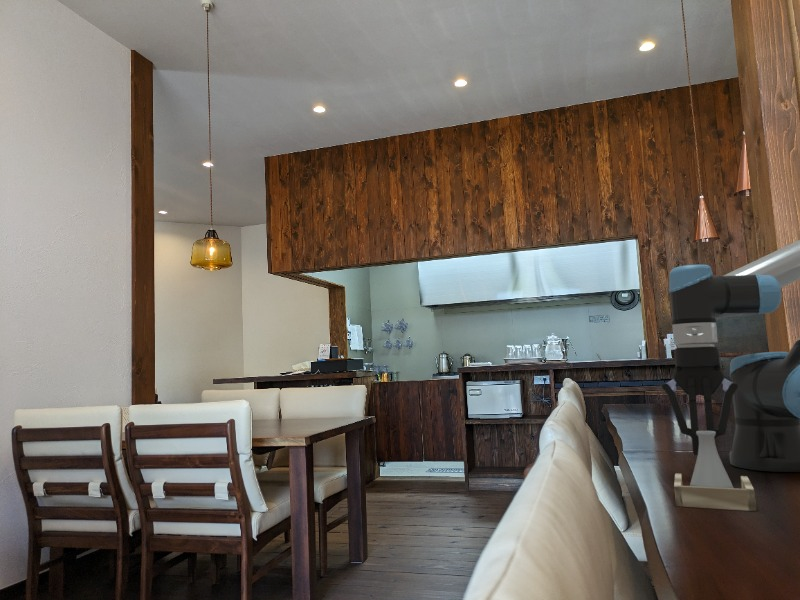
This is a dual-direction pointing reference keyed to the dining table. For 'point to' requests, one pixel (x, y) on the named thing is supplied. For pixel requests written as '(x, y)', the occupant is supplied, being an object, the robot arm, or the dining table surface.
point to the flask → (709, 464)
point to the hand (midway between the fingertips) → (706, 473)
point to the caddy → (715, 496)
